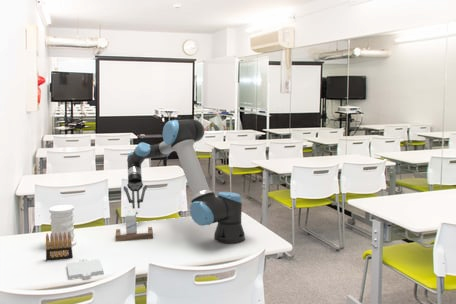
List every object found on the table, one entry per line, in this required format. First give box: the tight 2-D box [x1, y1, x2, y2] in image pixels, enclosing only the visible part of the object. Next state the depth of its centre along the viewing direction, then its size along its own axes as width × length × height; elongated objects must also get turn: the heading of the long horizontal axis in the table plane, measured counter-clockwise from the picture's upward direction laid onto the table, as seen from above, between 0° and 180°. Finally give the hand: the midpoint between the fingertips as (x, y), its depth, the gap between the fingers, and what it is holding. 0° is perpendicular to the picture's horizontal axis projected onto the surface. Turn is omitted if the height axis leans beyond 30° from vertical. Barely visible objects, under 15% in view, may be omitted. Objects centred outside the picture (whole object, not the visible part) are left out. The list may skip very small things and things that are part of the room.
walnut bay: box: [114, 226, 154, 242], centre depth 216 cm, size 11×18×2 cm, turn 103°
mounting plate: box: [66, 258, 104, 281], centre depth 175 cm, size 18×13×2 cm
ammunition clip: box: [45, 232, 74, 262], centre depth 187 cm, size 11×2×12 cm, turn 106°
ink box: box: [125, 210, 138, 234], centre depth 216 cm, size 9×5×12 cm, turn 10°
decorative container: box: [48, 204, 77, 247], centre depth 203 cm, size 12×12×18 cm
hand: (136, 213), depth 229 cm, fingers closed
